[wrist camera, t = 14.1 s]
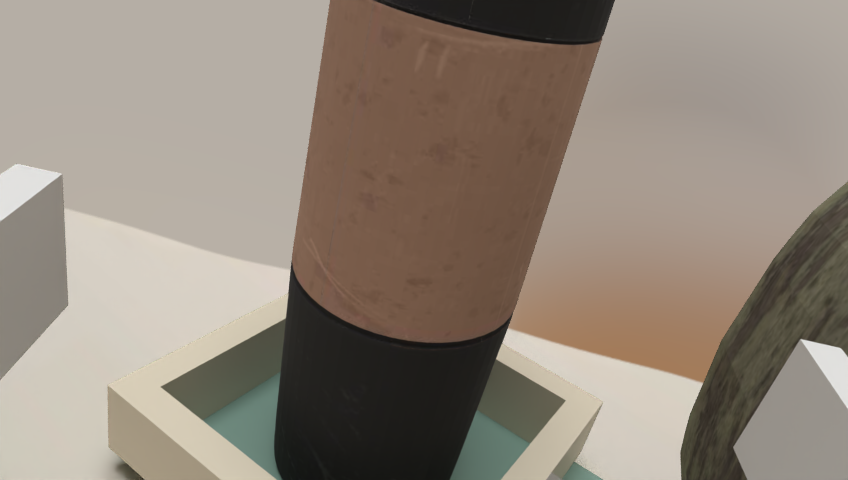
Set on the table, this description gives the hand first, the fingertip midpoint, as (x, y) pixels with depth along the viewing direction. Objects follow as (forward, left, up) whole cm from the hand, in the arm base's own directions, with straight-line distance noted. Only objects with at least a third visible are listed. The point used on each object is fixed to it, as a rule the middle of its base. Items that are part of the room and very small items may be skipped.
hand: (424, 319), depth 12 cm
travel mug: (-5, +8, -14) cm, 17 cm away
